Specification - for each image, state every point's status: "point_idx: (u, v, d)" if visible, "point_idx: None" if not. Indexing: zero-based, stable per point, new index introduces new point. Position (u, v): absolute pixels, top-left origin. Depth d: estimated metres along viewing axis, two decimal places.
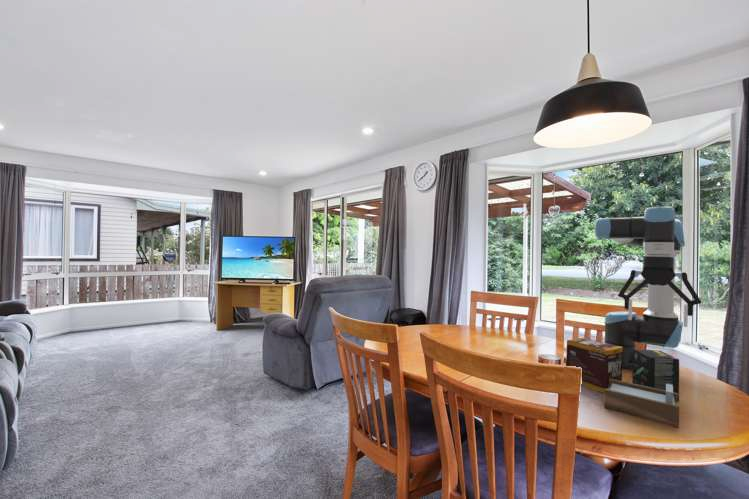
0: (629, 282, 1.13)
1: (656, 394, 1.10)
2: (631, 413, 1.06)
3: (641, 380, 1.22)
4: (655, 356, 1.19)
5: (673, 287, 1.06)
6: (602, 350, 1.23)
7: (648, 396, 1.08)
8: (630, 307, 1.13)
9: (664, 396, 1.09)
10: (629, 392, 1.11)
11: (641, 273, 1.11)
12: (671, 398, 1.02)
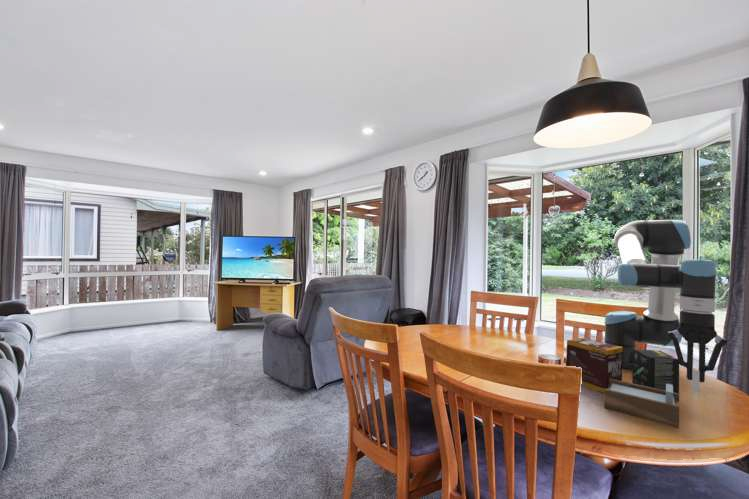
0: (677, 346, 1.03)
1: (656, 394, 1.10)
2: (631, 413, 1.06)
3: (641, 380, 1.22)
4: (655, 356, 1.19)
5: (702, 348, 1.00)
6: (602, 350, 1.23)
7: (648, 396, 1.08)
8: (694, 378, 1.00)
9: (664, 396, 1.09)
10: (629, 392, 1.11)
11: (679, 331, 1.03)
12: (671, 398, 1.02)
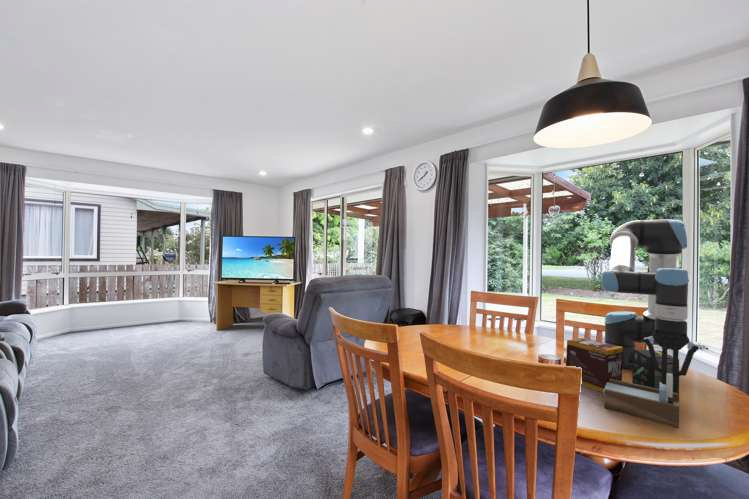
0: (652, 352, 1.07)
1: (649, 392, 1.11)
2: (631, 413, 1.06)
3: (641, 380, 1.22)
4: None
5: (675, 354, 1.03)
6: (602, 350, 1.23)
7: (642, 395, 1.09)
8: (668, 383, 1.04)
9: (658, 394, 1.10)
10: (623, 391, 1.12)
11: (654, 338, 1.07)
12: (664, 396, 1.03)
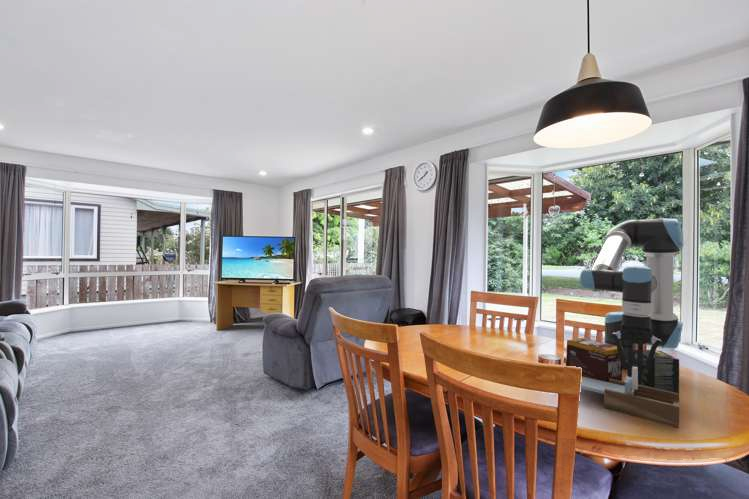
0: (619, 346, 1.12)
1: (618, 385, 1.17)
2: (631, 413, 1.06)
3: (641, 380, 1.22)
4: (655, 356, 1.19)
5: (639, 348, 1.09)
6: (602, 350, 1.23)
7: (610, 387, 1.15)
8: (633, 376, 1.10)
9: None
10: (593, 384, 1.17)
11: (621, 333, 1.12)
12: (629, 388, 1.08)
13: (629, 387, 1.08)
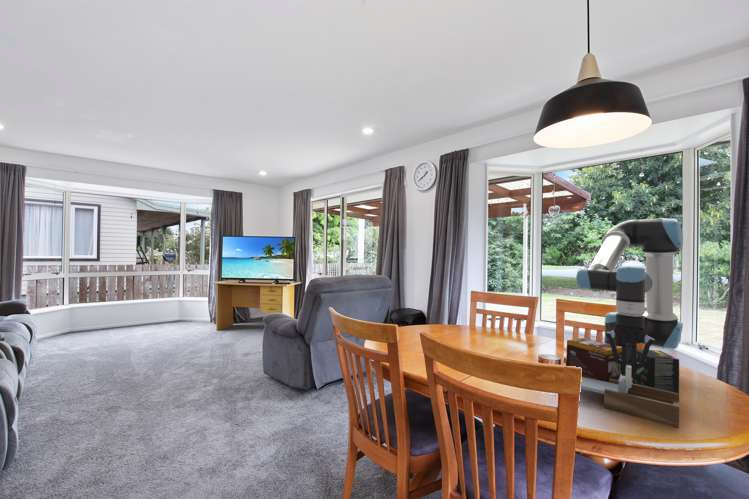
0: (613, 345, 1.13)
1: (612, 384, 1.18)
2: (631, 413, 1.06)
3: (641, 380, 1.22)
4: (655, 356, 1.19)
5: (633, 347, 1.10)
6: (602, 350, 1.23)
7: (604, 386, 1.16)
8: (627, 374, 1.11)
9: None
10: (587, 382, 1.18)
11: (614, 332, 1.13)
12: (623, 387, 1.09)
13: (623, 385, 1.09)
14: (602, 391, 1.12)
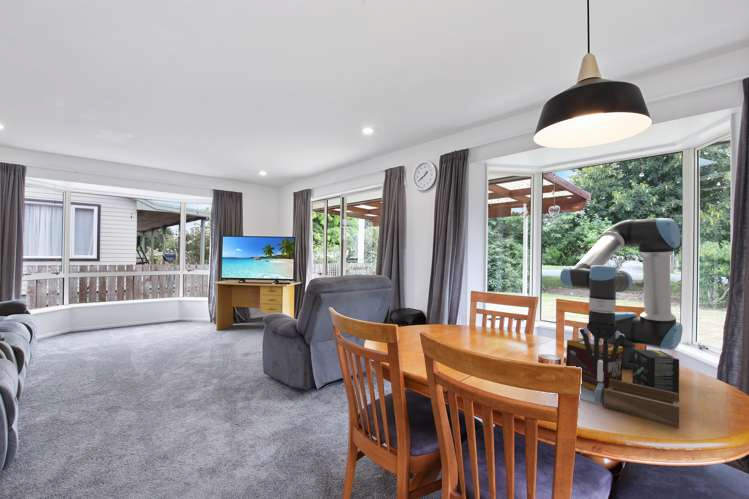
0: (586, 341, 1.18)
1: (590, 391, 1.22)
2: (631, 413, 1.06)
3: (641, 380, 1.22)
4: (655, 356, 1.19)
5: (604, 343, 1.15)
6: (602, 350, 1.23)
7: (582, 394, 1.20)
8: (599, 369, 1.16)
9: None
10: None
11: (588, 328, 1.18)
12: (599, 395, 1.13)
13: (599, 394, 1.13)
14: None
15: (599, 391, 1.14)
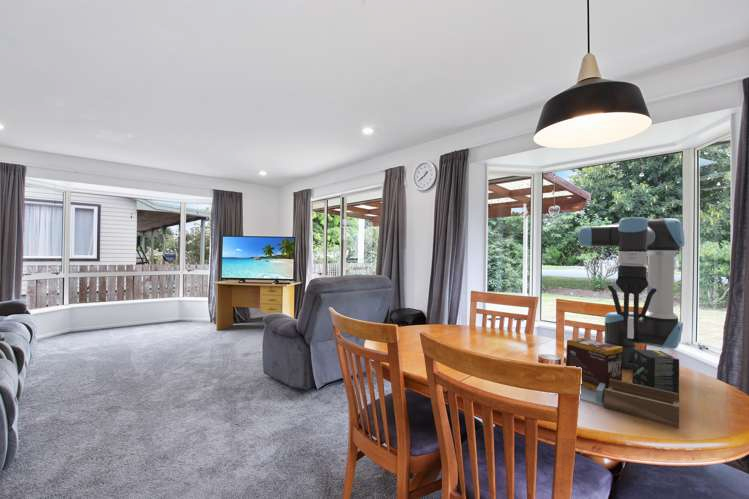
0: (615, 297, 1.13)
1: (591, 392, 1.22)
2: (631, 413, 1.06)
3: (641, 380, 1.22)
4: (655, 356, 1.19)
5: (635, 298, 1.10)
6: (602, 350, 1.23)
7: (583, 394, 1.20)
8: (629, 325, 1.11)
9: None
10: None
11: (617, 284, 1.14)
12: (600, 396, 1.13)
13: (600, 394, 1.13)
14: (581, 399, 1.16)
15: (600, 391, 1.13)
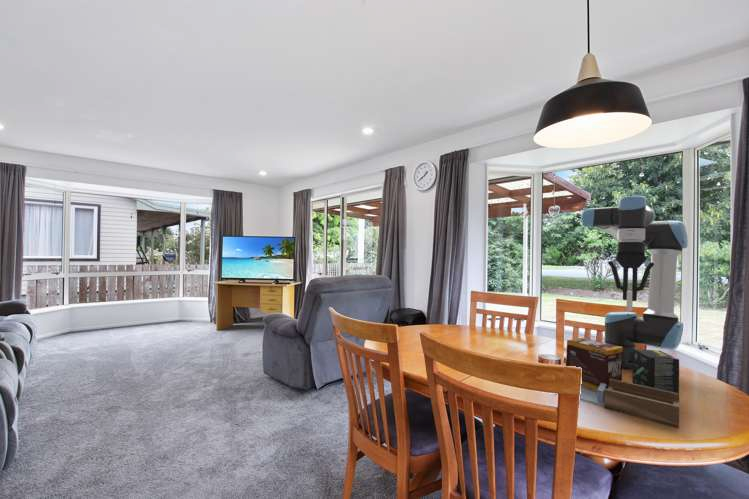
0: (615, 272, 1.20)
1: (592, 392, 1.21)
2: (631, 413, 1.06)
3: (641, 380, 1.22)
4: (655, 356, 1.19)
5: (634, 272, 1.16)
6: (602, 350, 1.23)
7: (584, 394, 1.19)
8: (628, 298, 1.17)
9: None
10: None
11: (616, 259, 1.20)
12: (602, 396, 1.13)
13: (601, 394, 1.13)
14: (582, 399, 1.16)
15: (601, 391, 1.13)
